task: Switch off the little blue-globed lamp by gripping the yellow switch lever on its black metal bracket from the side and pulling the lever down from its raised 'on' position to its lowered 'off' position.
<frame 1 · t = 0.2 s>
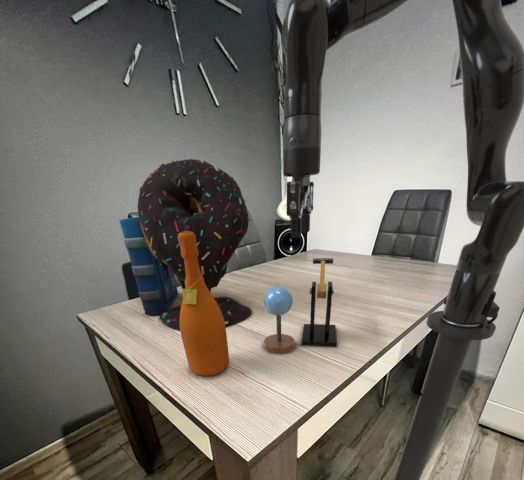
hand: (300, 234, 63), 27 cm above the table, tool pointing down, fingers open, 8 cm apart
wine bottle: (210, 366, 66), on the table
yellow switch lever: (322, 276, 72), point 15 cm above the table, hinge at 25.0°
blue lamp: (279, 345, 72), on the table
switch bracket: (319, 336, 76), on the table
book: (164, 304, 105), on the table, touching dark brown sprinkled donut
dark brown sprinkled donut: (207, 312, 96), on the table, touching book
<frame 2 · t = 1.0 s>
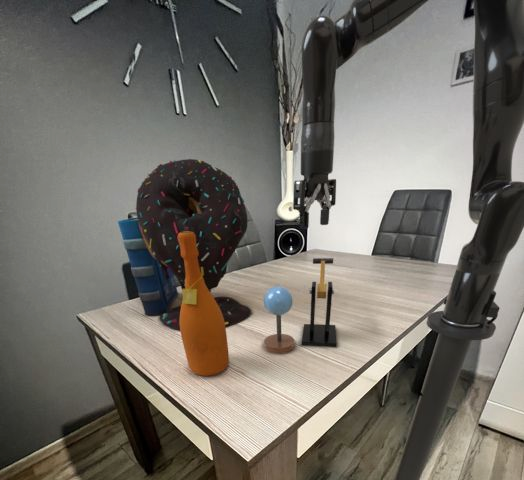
hand: (314, 226, 71), 27 cm above the table, tool pointing down, fingers open, 8 cm apart
nothing on the table moved.
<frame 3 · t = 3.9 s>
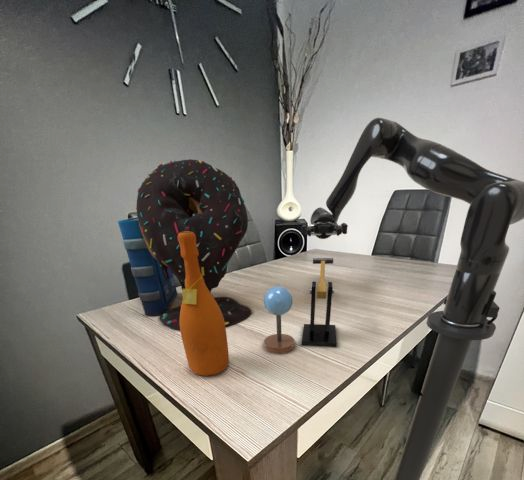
hand: (324, 232, 82), 24 cm above the table, tool horizontal, fingers open, 8 cm apart
nothing on the table moved.
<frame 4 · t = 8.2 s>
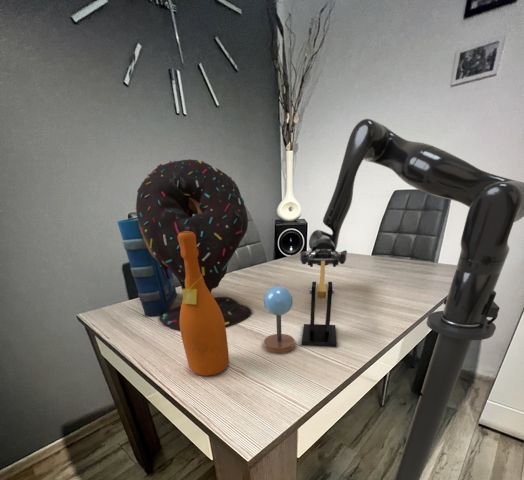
hand: (323, 263, 74), 18 cm above the table, tool horizontal, fingers closed on yellow switch lever, 5 cm apart
yellow switch lever: (322, 276, 72), point 15 cm above the table, hinge at 25.0°, touching gripper
everything else where it was.
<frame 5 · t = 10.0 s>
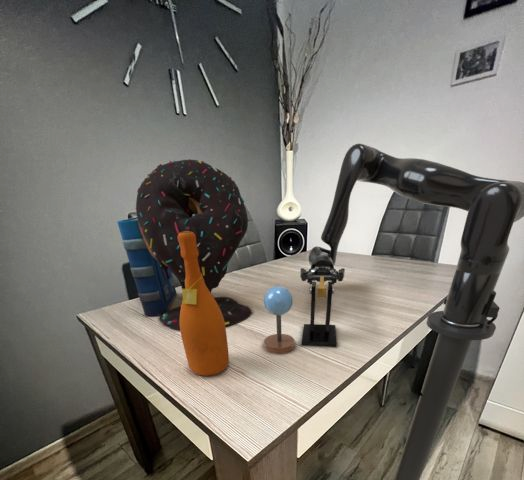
hand: (322, 281, 77), 13 cm above the table, tool horizontal, fingers closed on yellow switch lever, 5 cm apart
yellow switch lever: (321, 284, 74), point 13 cm above the table, hinge at 0.3°, touching gripper
everything else where it was.
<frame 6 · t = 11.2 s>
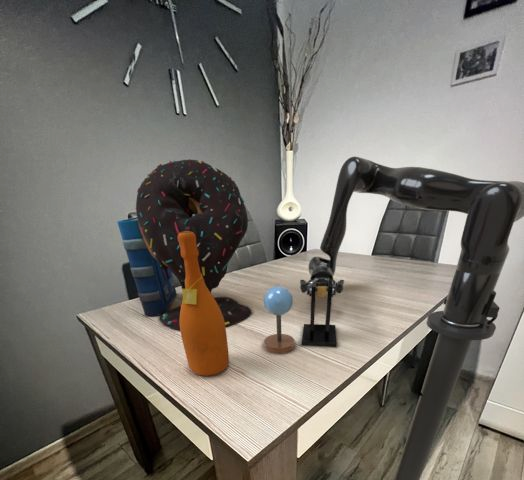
hand: (321, 293, 79), 9 cm above the table, tool horizontal, fingers closed on yellow switch lever, 5 cm apart
yellow switch lever: (321, 290, 75), point 12 cm above the table, hinge at -15.2°, touching gripper
everything else where it was.
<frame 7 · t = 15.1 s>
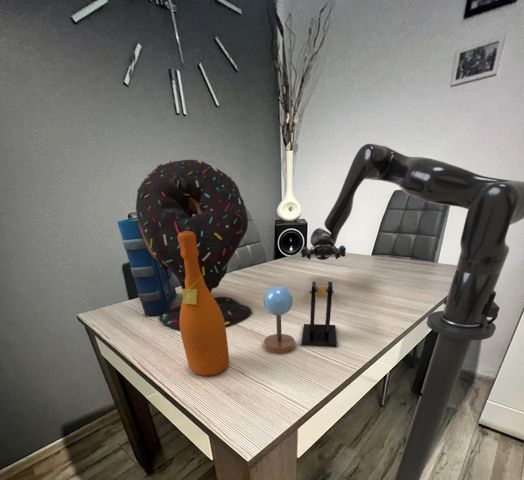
hand: (323, 255, 86), 17 cm above the table, tool horizontal, fingers open, 8 cm apart
yellow switch lever: (321, 290, 75), point 11 cm above the table, hinge at -16.1°
everything else where it was.
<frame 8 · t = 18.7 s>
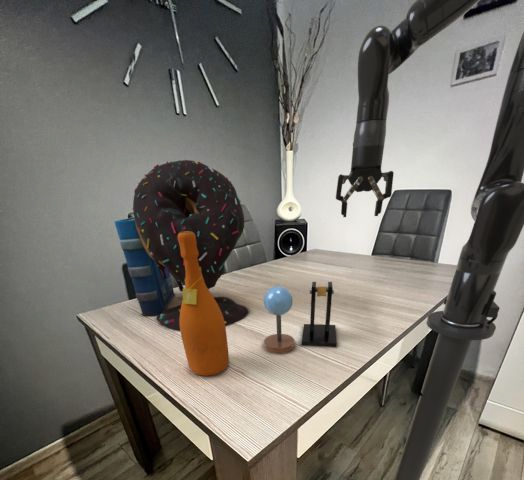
hand: (360, 216, 77), 28 cm above the table, tool pointing down, fingers open, 8 cm apart
book: (160, 304, 105), on the table, touching dark brown sprinkled donut
dark brown sprinkled donut: (205, 312, 96), on the table, touching book
everything else where it was.
at the end: yellow switch lever at -16° (first picture: +25°); the gripper is holding nothing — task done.
